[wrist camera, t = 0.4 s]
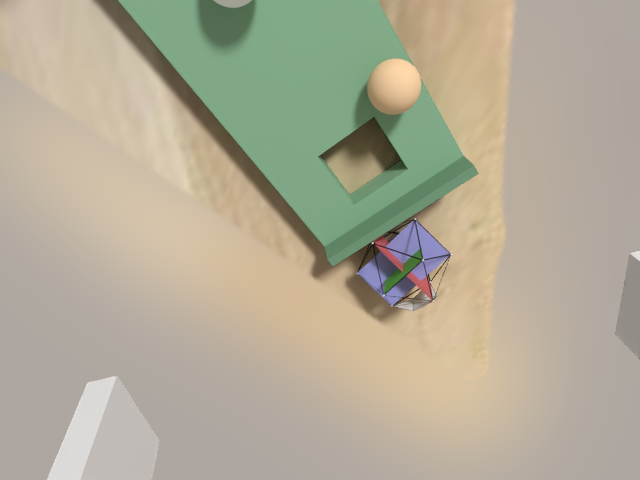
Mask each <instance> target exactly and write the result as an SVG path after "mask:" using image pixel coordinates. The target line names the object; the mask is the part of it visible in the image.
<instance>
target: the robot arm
mask: <svg viewBox="0 0 640 480" xmlns="http://www.w3.org/2000/svg"><path fill="white" fill-rule="evenodd" d="M615 334H616V335H617V336H618V337H619V338H620V339H621V340H622V341H623V342H624V343H625V345H626V346H627V347H628V348H629V349H630V350H631V351H632V352H633V353H634V354H635V355H636V356H637V357H638V358H639V359H640V251H638V252H633V253H630V254H629V260H628V265H627V270H626V277H625V282H624V288H623V293H622V298H621V304H620V310H619V315H618V321H617V326H616V332H615ZM159 443H160V441H159V439H158V438H157V437H156V435H155V433H154V432H153V430H152V429H151V427H150V426H149V424H148V423H147V421H146V419H145V418H144V416H143V415H142V413H141V412H140V410H139V409H138V408H137V406H136V405H135V403H134V401H133V400H132V398H131V396H130V395H129V393H128V392H127V391H126V389H125V387H124V386H123V384H122V383H121V381H120V380H119V378H118V377H117V376H114V377H110V378H106V379H101V380H97V381H93V382H89V383H87V386H86V388H85V390H84V393H83V395H82V397H81V400H80V402H79V404H78V407H77V409H76V412H75V414H74V417H73V419H72V421H71V424H70V426H69V428H68V431H67V433H66V436H65V438H64V440H63V443H62V445H61V447H60V450H59V452H58V455H57V457H56V460H55V462H54V464H53V466H52V469H51V471H50V474H49V476H48V478H47V480H152V475H153V471H154V466H155V461H156V457H157V452H158V447H159Z"/></svg>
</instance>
